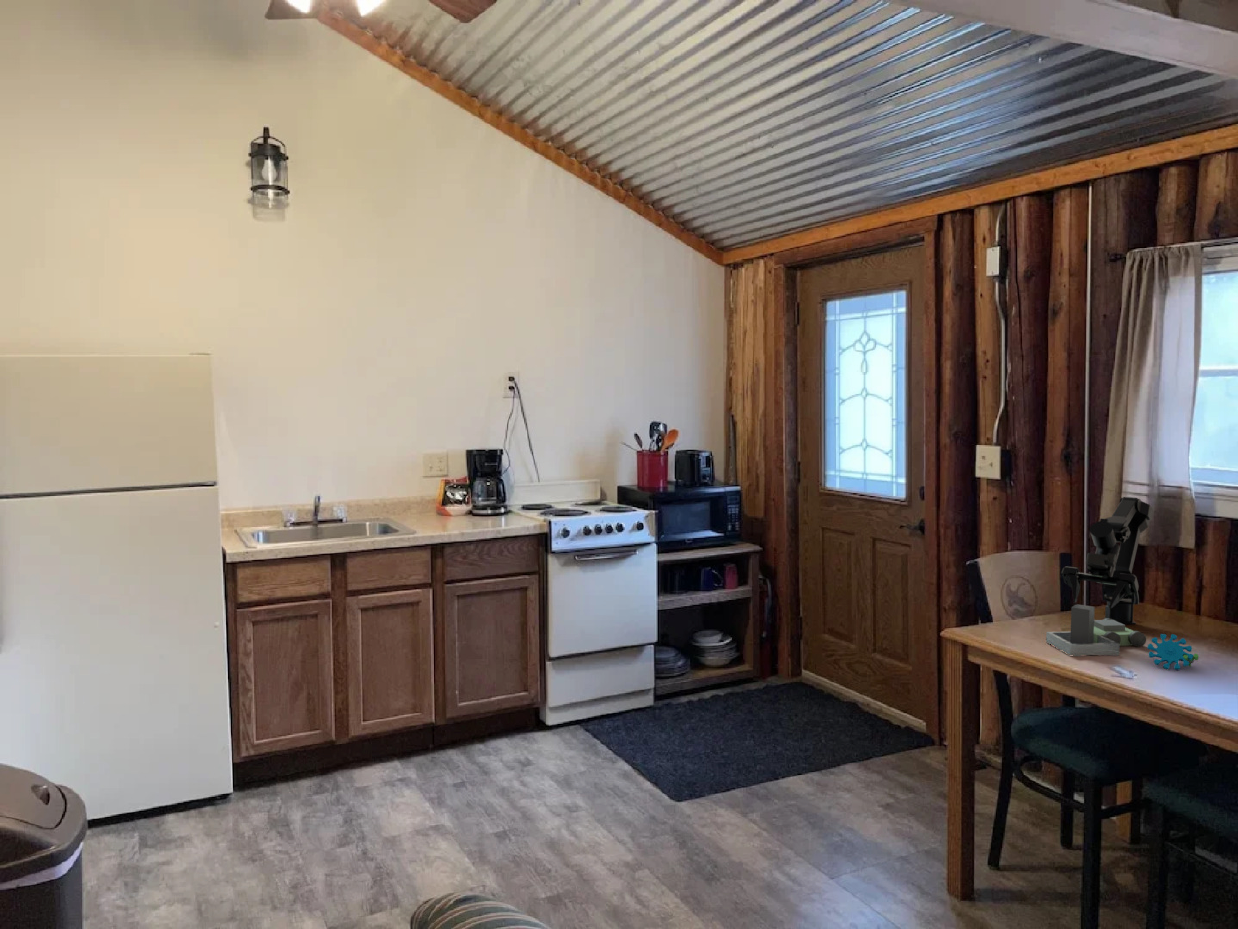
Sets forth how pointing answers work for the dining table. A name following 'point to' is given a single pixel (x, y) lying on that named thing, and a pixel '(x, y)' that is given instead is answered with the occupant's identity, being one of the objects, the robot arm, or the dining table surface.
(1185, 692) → the dining table surface
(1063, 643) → the grey tray
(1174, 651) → the teal spiky round piece
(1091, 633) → the grey block
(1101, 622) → the toy car
